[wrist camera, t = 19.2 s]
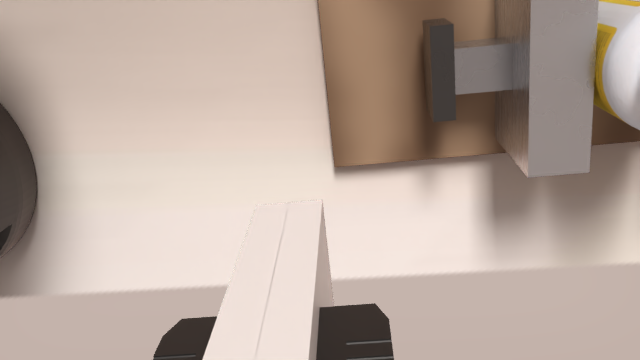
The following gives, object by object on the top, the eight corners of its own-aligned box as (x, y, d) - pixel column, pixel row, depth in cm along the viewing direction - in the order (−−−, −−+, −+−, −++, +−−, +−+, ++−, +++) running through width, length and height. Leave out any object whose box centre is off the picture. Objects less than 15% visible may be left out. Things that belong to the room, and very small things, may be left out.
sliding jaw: (425, 143, 37) (442, 184, 31) (417, -29, 34) (435, -24, 27) (545, 133, 37) (589, 172, 30) (550, -43, 33) (600, -42, 27)
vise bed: (334, 162, 39) (332, 211, 31) (315, -37, 35) (307, -34, 27) (725, 128, 37) (821, 172, 30) (753, -85, 33) (874, -95, 26)
